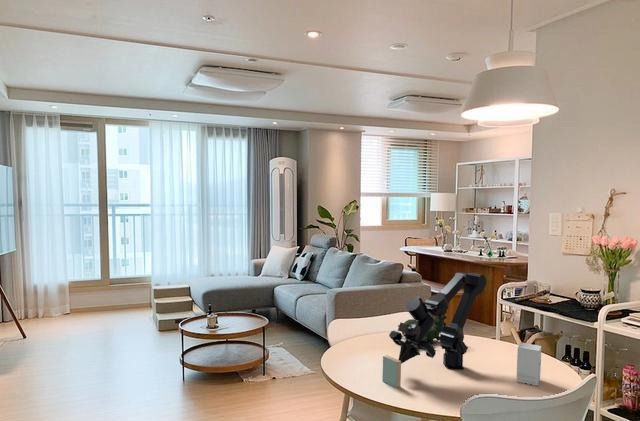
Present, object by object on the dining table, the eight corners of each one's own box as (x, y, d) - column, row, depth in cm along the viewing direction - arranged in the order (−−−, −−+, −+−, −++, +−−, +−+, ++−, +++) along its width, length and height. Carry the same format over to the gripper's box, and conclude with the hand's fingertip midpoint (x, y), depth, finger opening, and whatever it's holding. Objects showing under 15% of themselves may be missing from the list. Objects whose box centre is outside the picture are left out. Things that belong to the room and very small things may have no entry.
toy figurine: (435, 341, 218) (390, 341, 209) (439, 301, 219) (394, 300, 209) (448, 347, 210) (401, 347, 200) (452, 305, 210) (406, 304, 200)
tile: (386, 380, 164) (387, 355, 164) (400, 386, 158) (401, 361, 158) (382, 381, 163) (382, 356, 163) (396, 388, 157) (396, 362, 157)
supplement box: (538, 386, 161) (539, 351, 161) (515, 381, 165) (516, 347, 165) (540, 380, 168) (542, 345, 167) (519, 375, 172) (520, 342, 171)
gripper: (393, 309, 173) (370, 342, 167) (431, 320, 158) (407, 357, 152) (407, 327, 178) (385, 360, 172) (445, 339, 163) (423, 376, 156)
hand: (399, 363), depth 163 cm, fingers closed
